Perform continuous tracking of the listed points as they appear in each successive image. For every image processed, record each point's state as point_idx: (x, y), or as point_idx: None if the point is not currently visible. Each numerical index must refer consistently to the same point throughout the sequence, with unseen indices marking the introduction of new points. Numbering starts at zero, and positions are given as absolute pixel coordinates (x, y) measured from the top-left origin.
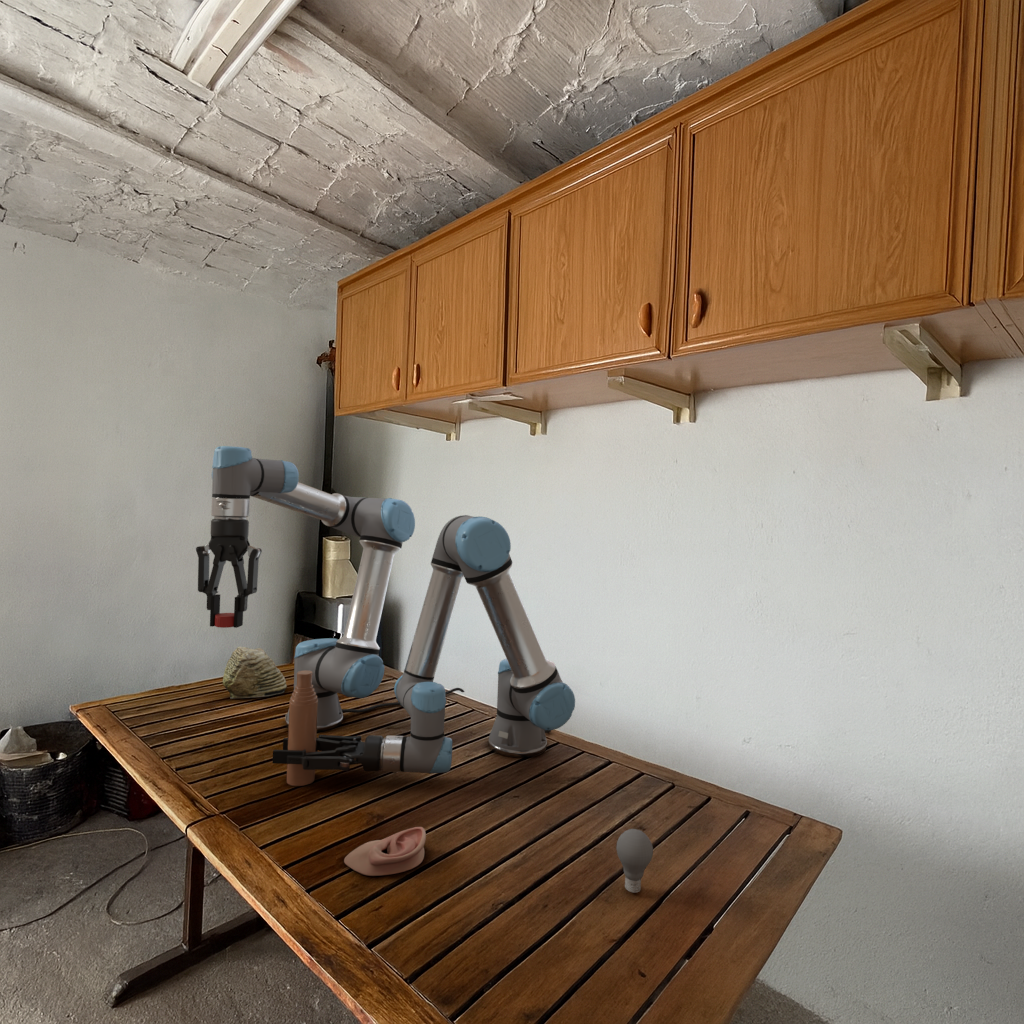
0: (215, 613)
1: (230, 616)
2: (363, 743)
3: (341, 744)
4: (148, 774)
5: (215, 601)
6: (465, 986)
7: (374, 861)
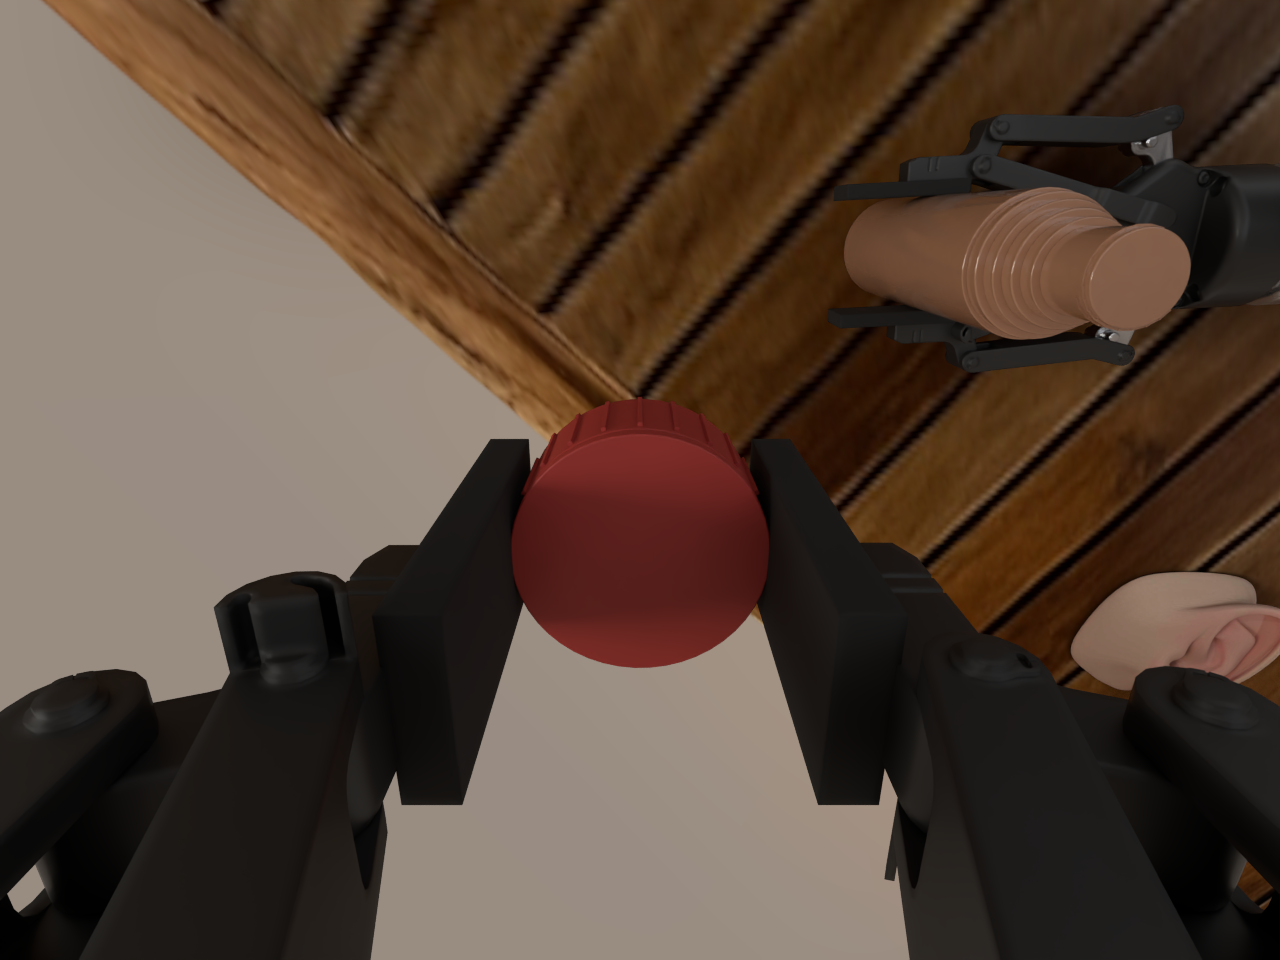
0: (512, 593)
1: (727, 636)
2: (1189, 189)
3: None
4: (375, 263)
5: (478, 700)
6: (1256, 884)
7: None
